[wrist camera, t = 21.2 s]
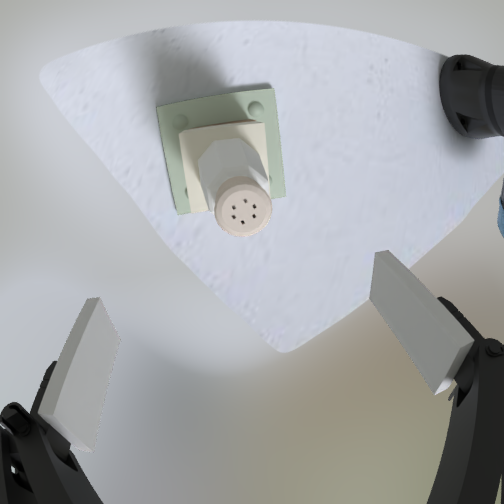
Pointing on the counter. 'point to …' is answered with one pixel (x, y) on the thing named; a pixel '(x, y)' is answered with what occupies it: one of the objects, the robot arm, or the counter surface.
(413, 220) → the counter surface
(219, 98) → the base plate
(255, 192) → the pepper shaker
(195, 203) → the brick
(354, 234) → the counter surface
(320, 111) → the counter surface
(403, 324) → the robot arm
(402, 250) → the counter surface
